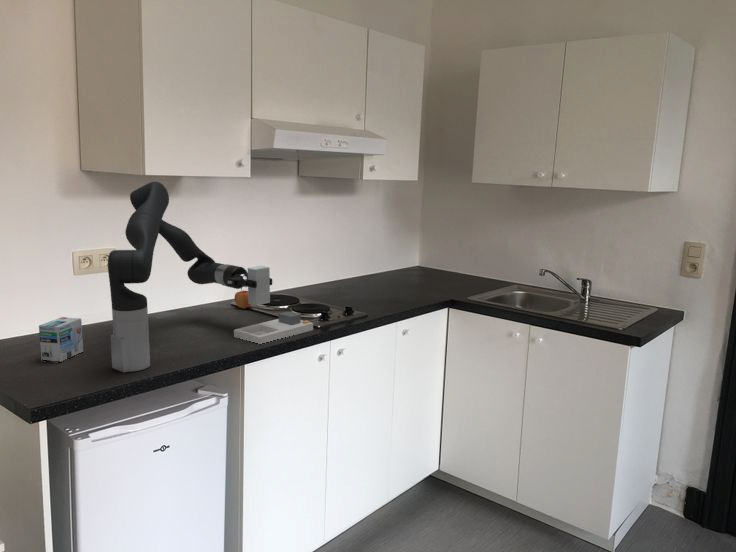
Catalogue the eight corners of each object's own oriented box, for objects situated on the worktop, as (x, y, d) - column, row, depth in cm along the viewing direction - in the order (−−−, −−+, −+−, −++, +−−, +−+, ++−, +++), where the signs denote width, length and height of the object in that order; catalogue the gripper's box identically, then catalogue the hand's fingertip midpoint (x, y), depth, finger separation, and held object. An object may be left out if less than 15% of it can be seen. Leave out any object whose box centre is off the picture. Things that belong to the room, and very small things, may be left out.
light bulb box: (61, 363, 177) (58, 327, 175) (40, 361, 178) (37, 325, 176) (84, 352, 187) (82, 317, 185) (64, 350, 189) (61, 316, 187)
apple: (244, 311, 240) (243, 291, 239) (230, 308, 244) (230, 288, 243) (257, 307, 246) (257, 288, 245) (244, 305, 250) (243, 285, 249)
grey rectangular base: (260, 344, 198) (259, 328, 197) (234, 337, 206) (233, 320, 205) (313, 330, 216) (313, 314, 215) (287, 323, 224) (287, 308, 223)
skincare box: (261, 300, 208) (261, 265, 205) (270, 302, 205) (270, 267, 203) (247, 303, 203) (247, 267, 201) (256, 305, 200) (255, 269, 198)
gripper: (213, 267, 205) (246, 274, 195) (247, 262, 216) (280, 269, 206) (213, 290, 207) (246, 298, 196) (247, 283, 218) (280, 291, 207)
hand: (263, 283), depth 201 cm, fingers closed on skincare box, 6 cm apart
